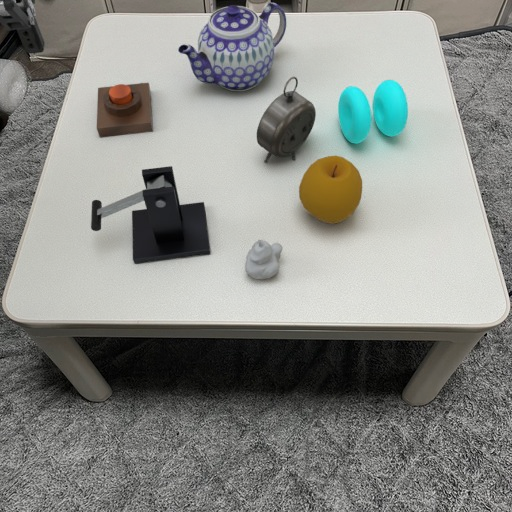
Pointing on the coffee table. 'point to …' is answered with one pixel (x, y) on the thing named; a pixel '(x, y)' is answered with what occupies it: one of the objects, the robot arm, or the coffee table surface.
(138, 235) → the lever base
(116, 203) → the t-handle lever
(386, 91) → the donuts
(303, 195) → the apple
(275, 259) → the grey swirled lump
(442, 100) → the coffee table surface
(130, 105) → the switch
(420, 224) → the coffee table surface
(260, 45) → the teapot
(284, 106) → the alarm clock
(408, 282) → the coffee table surface
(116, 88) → the button
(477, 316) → the coffee table surface
